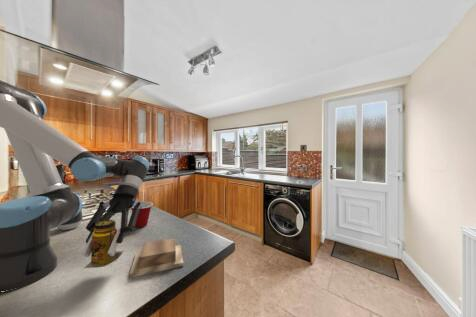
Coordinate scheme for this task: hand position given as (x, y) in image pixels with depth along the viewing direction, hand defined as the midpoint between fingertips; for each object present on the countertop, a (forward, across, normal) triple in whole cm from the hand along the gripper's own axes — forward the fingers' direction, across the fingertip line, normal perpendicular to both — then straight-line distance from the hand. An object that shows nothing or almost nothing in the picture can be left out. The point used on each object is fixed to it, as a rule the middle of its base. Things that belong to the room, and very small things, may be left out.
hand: (98, 254), depth 50 cm
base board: (-1, -14, -13) cm, 19 cm away
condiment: (0, 0, -5) cm, 5 cm away
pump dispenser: (-24, +40, -38) cm, 60 cm away
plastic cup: (-25, +5, -37) cm, 45 cm away
